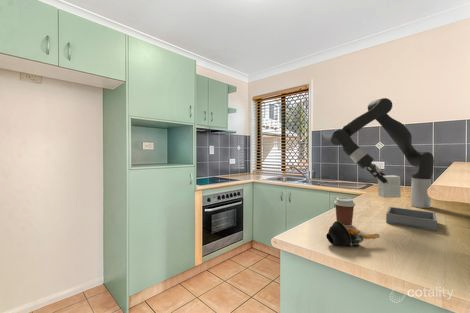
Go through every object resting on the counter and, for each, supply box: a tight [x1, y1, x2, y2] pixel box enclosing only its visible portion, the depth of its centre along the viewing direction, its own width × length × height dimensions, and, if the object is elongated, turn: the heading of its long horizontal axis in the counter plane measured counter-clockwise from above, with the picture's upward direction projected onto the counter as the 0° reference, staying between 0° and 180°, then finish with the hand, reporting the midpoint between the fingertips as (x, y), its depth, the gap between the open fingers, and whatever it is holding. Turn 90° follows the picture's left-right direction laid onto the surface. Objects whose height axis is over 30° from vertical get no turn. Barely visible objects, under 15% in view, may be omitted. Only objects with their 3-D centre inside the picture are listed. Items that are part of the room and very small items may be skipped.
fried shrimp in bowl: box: [325, 220, 380, 247], centre depth 84 cm, size 9×11×18 cm
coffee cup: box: [333, 197, 356, 228], centre depth 105 cm, size 9×9×12 cm
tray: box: [385, 206, 438, 232], centre depth 108 cm, size 16×18×4 cm
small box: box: [377, 174, 402, 199], centre depth 114 cm, size 8×6×10 cm
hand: (387, 181), depth 114 cm, fingers closed on small box, 8 cm apart
